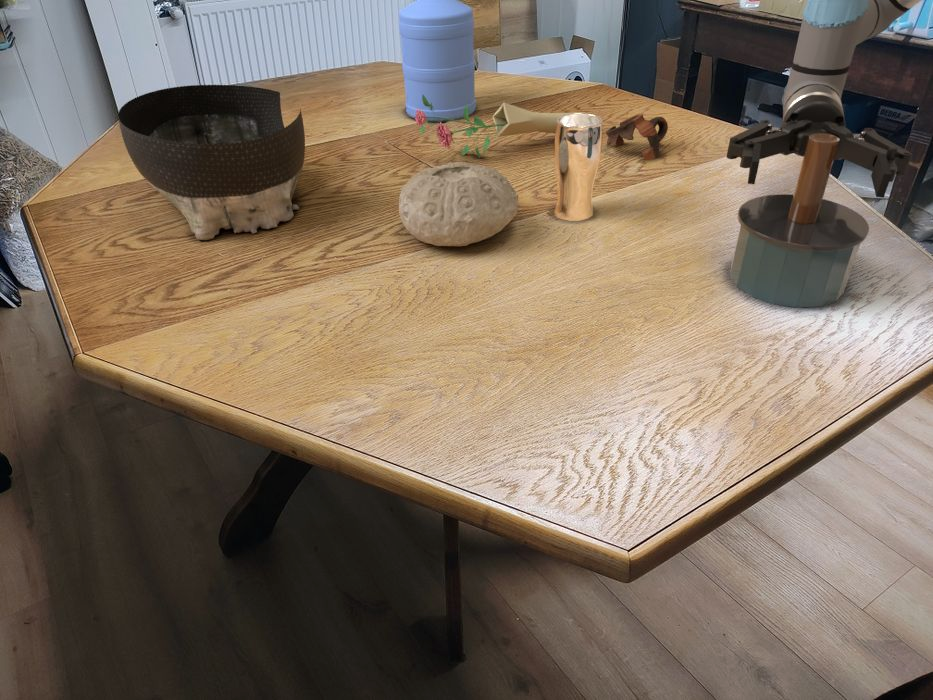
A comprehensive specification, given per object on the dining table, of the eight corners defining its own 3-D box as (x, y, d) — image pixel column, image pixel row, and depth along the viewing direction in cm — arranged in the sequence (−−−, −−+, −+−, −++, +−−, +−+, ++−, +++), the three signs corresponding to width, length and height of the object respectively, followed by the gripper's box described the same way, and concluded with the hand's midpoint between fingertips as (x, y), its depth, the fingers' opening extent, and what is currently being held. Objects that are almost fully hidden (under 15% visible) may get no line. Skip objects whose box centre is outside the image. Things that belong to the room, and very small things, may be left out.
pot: (839, 266, 92) (858, 207, 87) (844, 319, 82) (866, 256, 77) (732, 252, 96) (745, 195, 91) (725, 300, 86) (739, 239, 81)
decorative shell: (408, 208, 112) (403, 148, 106) (517, 207, 111) (518, 147, 105) (393, 261, 97) (386, 194, 91) (518, 261, 96) (519, 194, 90)
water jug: (483, 119, 148) (480, -27, 132) (411, 126, 146) (400, -22, 129) (467, 99, 161) (463, -37, 144) (401, 105, 158) (389, -32, 142)
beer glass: (564, 228, 104) (569, 130, 95) (543, 210, 109) (547, 116, 100) (604, 220, 106) (613, 123, 97) (582, 203, 111) (588, 109, 102)
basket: (310, 156, 133) (295, 68, 124) (321, 233, 105) (303, 128, 96) (157, 173, 128) (130, 83, 119) (127, 258, 101) (87, 150, 91)
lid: (861, 210, 88) (890, 123, 81) (871, 263, 77) (905, 167, 70) (739, 197, 92) (757, 113, 86) (732, 245, 81) (752, 153, 75)
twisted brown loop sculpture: (637, 171, 123) (619, 128, 120) (609, 177, 132) (591, 137, 129) (687, 140, 126) (670, 98, 123) (655, 149, 134) (639, 109, 132)
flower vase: (578, 179, 138) (423, 177, 121) (550, 144, 145) (399, 138, 128) (603, 128, 130) (441, 118, 113) (573, 93, 137) (415, 79, 120)
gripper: (906, 157, 92) (930, 223, 76) (712, 140, 100) (697, 197, 84) (926, 100, 87) (956, 157, 72) (722, 87, 95) (708, 136, 79)
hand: (816, 179), depth 78 cm, fingers open, 13 cm apart
